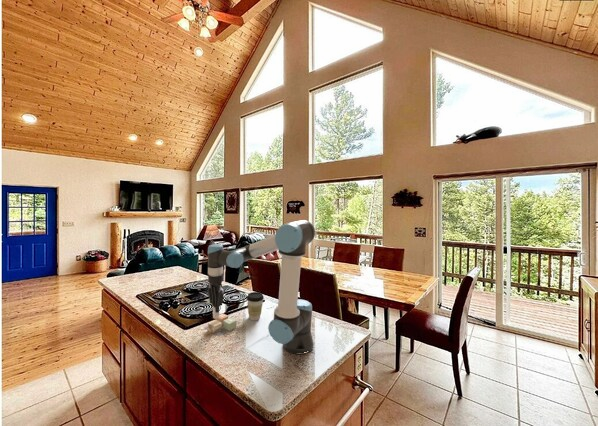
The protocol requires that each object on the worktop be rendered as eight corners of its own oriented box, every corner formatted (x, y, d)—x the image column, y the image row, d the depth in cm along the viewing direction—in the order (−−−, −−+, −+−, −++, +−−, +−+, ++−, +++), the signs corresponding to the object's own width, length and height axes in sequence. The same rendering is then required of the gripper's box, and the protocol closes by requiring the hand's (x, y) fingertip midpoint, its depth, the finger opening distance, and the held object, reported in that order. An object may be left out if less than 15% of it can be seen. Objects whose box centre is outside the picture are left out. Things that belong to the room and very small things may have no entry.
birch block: (221, 330, 153) (221, 322, 152) (213, 333, 149) (213, 326, 148) (216, 326, 156) (216, 319, 155) (208, 330, 152) (208, 323, 151)
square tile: (236, 329, 156) (236, 327, 156) (218, 338, 147) (218, 336, 147) (222, 321, 164) (222, 319, 164) (204, 329, 154) (204, 327, 154)
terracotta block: (228, 322, 161) (228, 315, 160) (220, 326, 157) (220, 319, 156) (222, 319, 164) (222, 312, 163) (215, 323, 160) (215, 315, 159)
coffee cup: (259, 324, 162) (260, 299, 160) (243, 322, 164) (244, 297, 162) (265, 316, 172) (266, 292, 170) (249, 314, 173) (250, 290, 172)
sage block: (236, 327, 156) (236, 320, 156) (229, 330, 152) (229, 323, 152) (230, 324, 159) (230, 316, 159) (223, 327, 155) (223, 320, 155)
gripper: (229, 275, 147) (229, 318, 150) (214, 269, 155) (214, 311, 158) (217, 278, 142) (217, 324, 144) (201, 273, 149) (202, 316, 152)
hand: (216, 317), depth 151 cm, fingers closed
